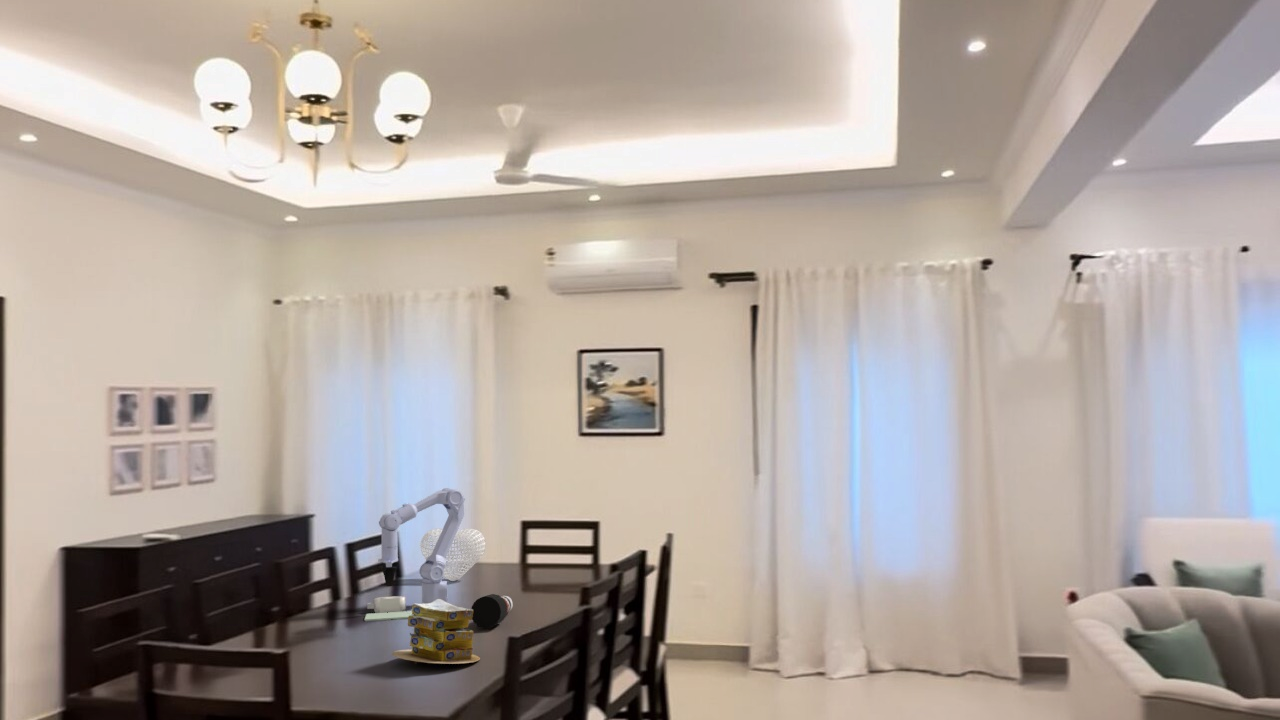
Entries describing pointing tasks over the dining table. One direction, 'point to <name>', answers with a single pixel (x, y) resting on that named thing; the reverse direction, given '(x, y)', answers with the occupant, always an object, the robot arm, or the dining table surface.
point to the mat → (388, 616)
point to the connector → (388, 604)
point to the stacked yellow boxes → (439, 634)
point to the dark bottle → (491, 610)
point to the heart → (457, 550)
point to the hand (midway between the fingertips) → (389, 584)
